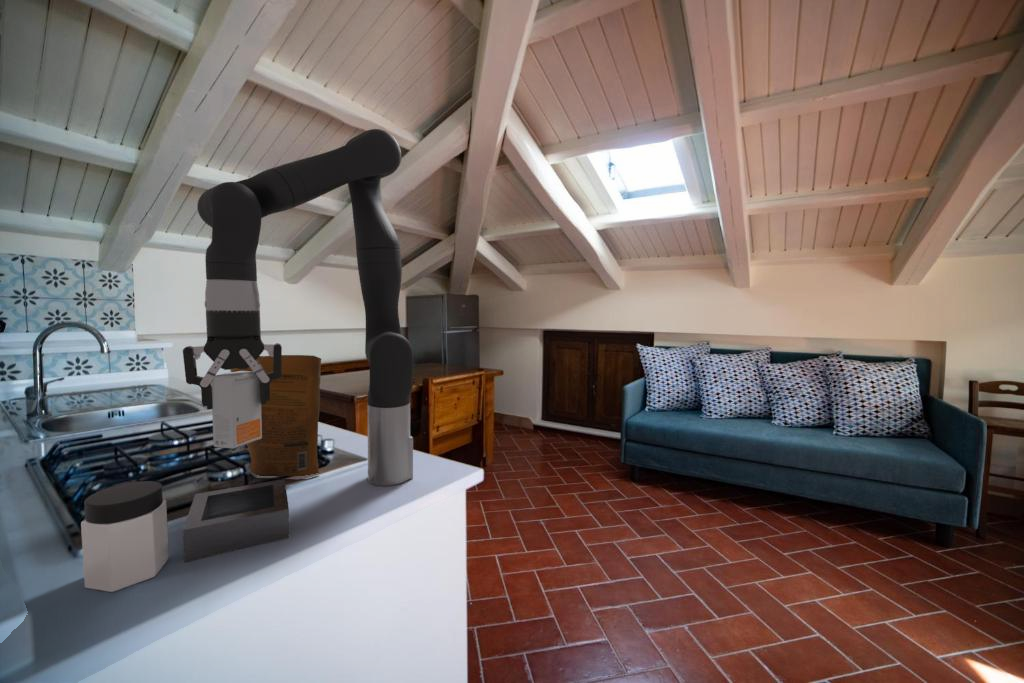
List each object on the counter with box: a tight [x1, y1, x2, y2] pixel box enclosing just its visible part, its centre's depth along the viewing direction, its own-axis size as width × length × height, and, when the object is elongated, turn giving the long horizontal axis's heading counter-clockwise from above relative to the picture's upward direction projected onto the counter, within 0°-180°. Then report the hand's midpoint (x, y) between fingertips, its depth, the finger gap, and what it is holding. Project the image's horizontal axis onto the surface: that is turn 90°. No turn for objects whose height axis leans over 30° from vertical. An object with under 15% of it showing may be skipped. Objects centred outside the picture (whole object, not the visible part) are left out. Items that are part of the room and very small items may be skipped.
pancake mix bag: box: [229, 354, 322, 476], centre depth 94 cm, size 7×19×28 cm, turn 87°
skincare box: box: [211, 371, 262, 450], centre depth 71 cm, size 6×4×12 cm
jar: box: [80, 480, 170, 593], centre depth 60 cm, size 9×8×12 cm
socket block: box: [182, 479, 290, 563], centre depth 72 cm, size 14×14×5 cm
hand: (237, 405), depth 71 cm, fingers closed on skincare box, 7 cm apart
